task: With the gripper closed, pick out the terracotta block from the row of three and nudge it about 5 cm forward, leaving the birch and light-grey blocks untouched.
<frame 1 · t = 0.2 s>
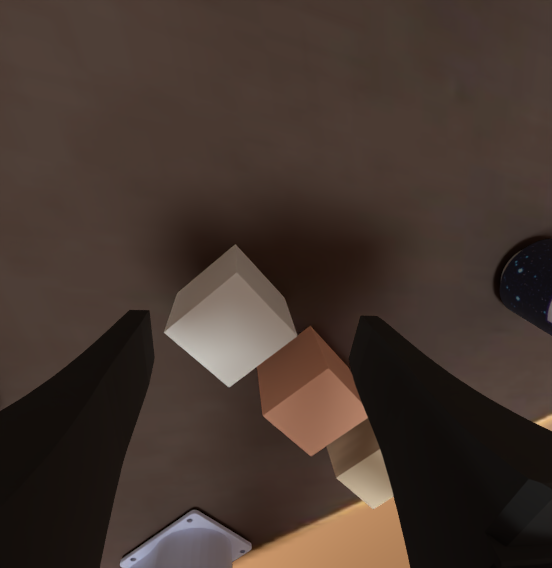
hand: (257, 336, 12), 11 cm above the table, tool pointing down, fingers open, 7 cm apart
beverage can: (525, 272, 25), on the table
terracotta block: (303, 366, 26), on the table
birch block: (359, 422, 29), on the table
light grey block: (232, 294, 23), on the table
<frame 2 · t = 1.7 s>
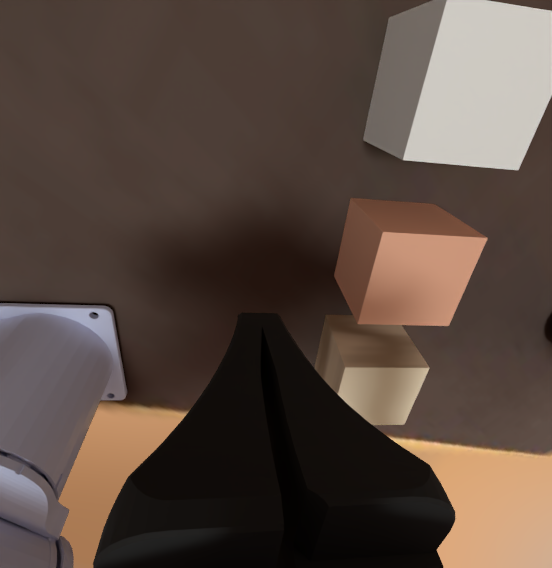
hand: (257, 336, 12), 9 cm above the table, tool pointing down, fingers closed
terracotta block: (381, 241, 21), on the table
birch block: (353, 342, 25), on the table
light grey block: (423, 89, 17), on the table
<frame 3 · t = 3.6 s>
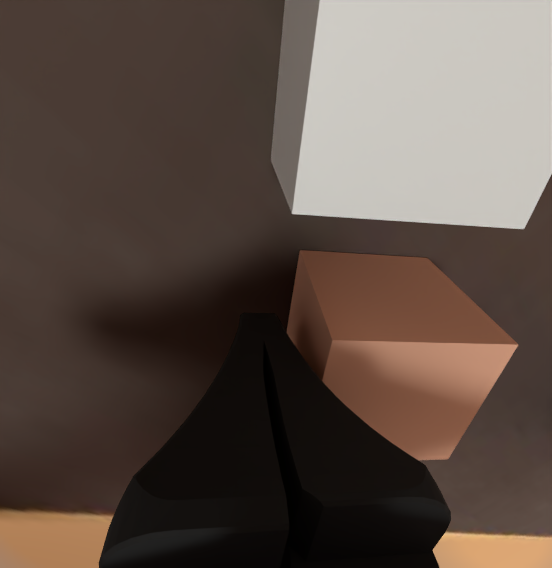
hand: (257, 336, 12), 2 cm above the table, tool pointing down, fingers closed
terracotta block: (350, 308, 14), on the table, touching gripper
light grey block: (364, 77, 10), on the table
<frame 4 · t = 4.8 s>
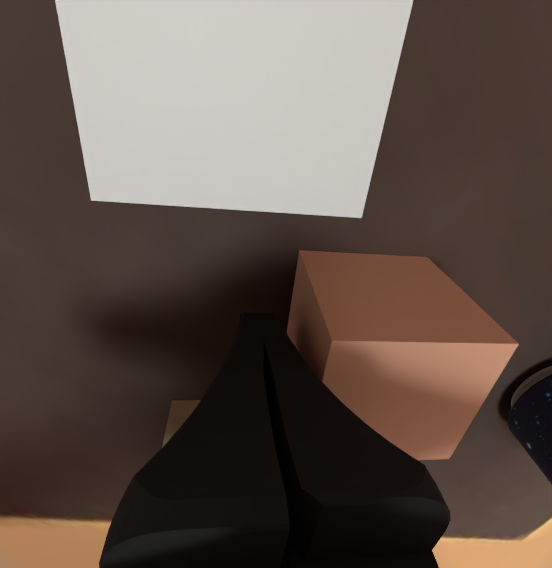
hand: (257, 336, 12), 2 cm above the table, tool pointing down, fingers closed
beverage can: (547, 387, 18), on the table
terracotta block: (350, 308, 14), on the table, touching gripper
birch block: (225, 431, 18), on the table
light grey block: (238, 60, 9), on the table
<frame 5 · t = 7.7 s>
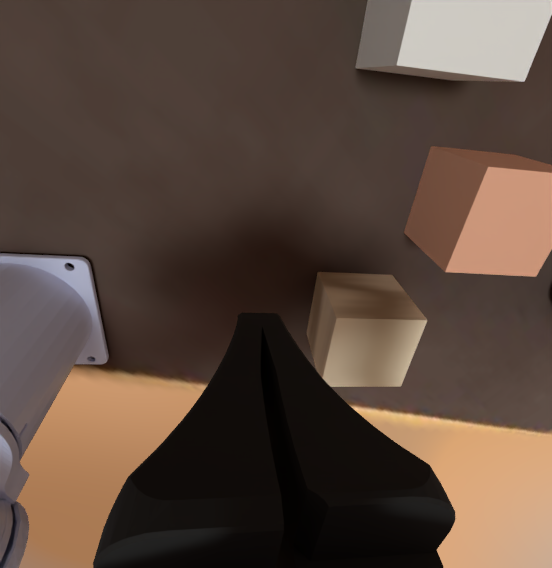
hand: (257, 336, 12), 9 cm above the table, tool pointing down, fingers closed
terracotta block: (455, 195, 20), on the table
birch block: (347, 304, 23), on the table
light grey block: (420, 9, 15), on the table
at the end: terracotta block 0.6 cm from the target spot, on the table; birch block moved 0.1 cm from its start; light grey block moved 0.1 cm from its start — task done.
